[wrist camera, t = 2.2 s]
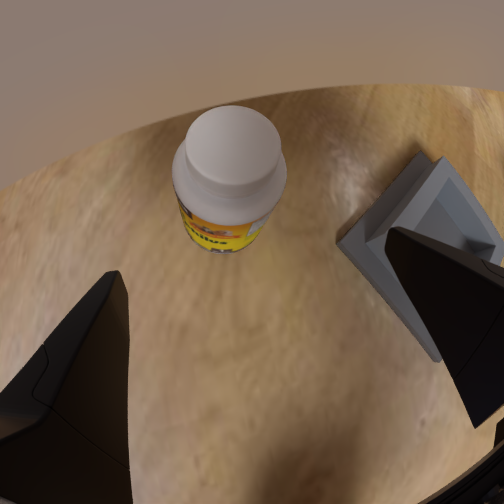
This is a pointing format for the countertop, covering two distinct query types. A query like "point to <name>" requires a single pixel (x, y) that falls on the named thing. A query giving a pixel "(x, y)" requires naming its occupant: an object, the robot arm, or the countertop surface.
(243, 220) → the supplement bottle
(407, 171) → the dock
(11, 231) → the countertop surface
